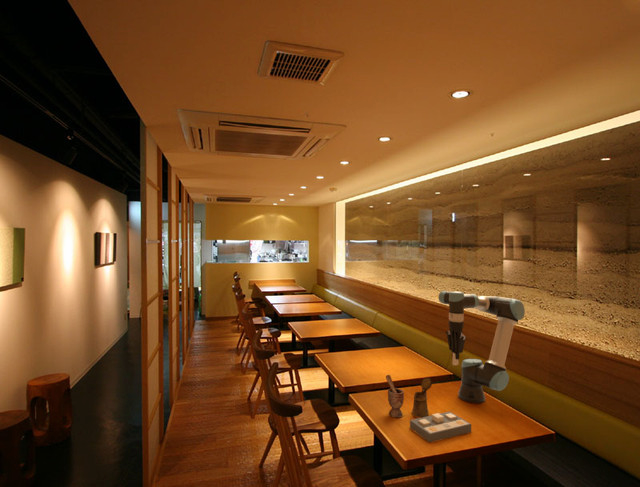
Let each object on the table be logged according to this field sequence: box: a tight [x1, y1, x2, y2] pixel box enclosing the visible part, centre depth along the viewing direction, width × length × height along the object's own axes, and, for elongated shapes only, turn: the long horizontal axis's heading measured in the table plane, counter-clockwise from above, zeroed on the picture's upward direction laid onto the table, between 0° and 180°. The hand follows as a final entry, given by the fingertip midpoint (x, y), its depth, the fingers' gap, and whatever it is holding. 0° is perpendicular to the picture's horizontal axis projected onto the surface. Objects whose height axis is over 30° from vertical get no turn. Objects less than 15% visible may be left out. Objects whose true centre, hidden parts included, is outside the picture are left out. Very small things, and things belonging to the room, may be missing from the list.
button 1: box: [418, 419, 430, 426], centre depth 188 cm, size 4×4×4 cm
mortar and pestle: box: [385, 374, 405, 419], centre depth 207 cm, size 12×9×20 cm
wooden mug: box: [411, 377, 432, 418], centre depth 208 cm, size 9×14×18 cm, turn 134°
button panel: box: [409, 411, 472, 443], centre depth 189 cm, size 26×15×4 cm, turn 113°
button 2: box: [445, 412, 458, 420], centre depth 194 cm, size 4×4×4 cm
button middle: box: [431, 412, 444, 423], centre depth 191 cm, size 4×4×4 cm
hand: (455, 364), depth 201 cm, fingers closed
